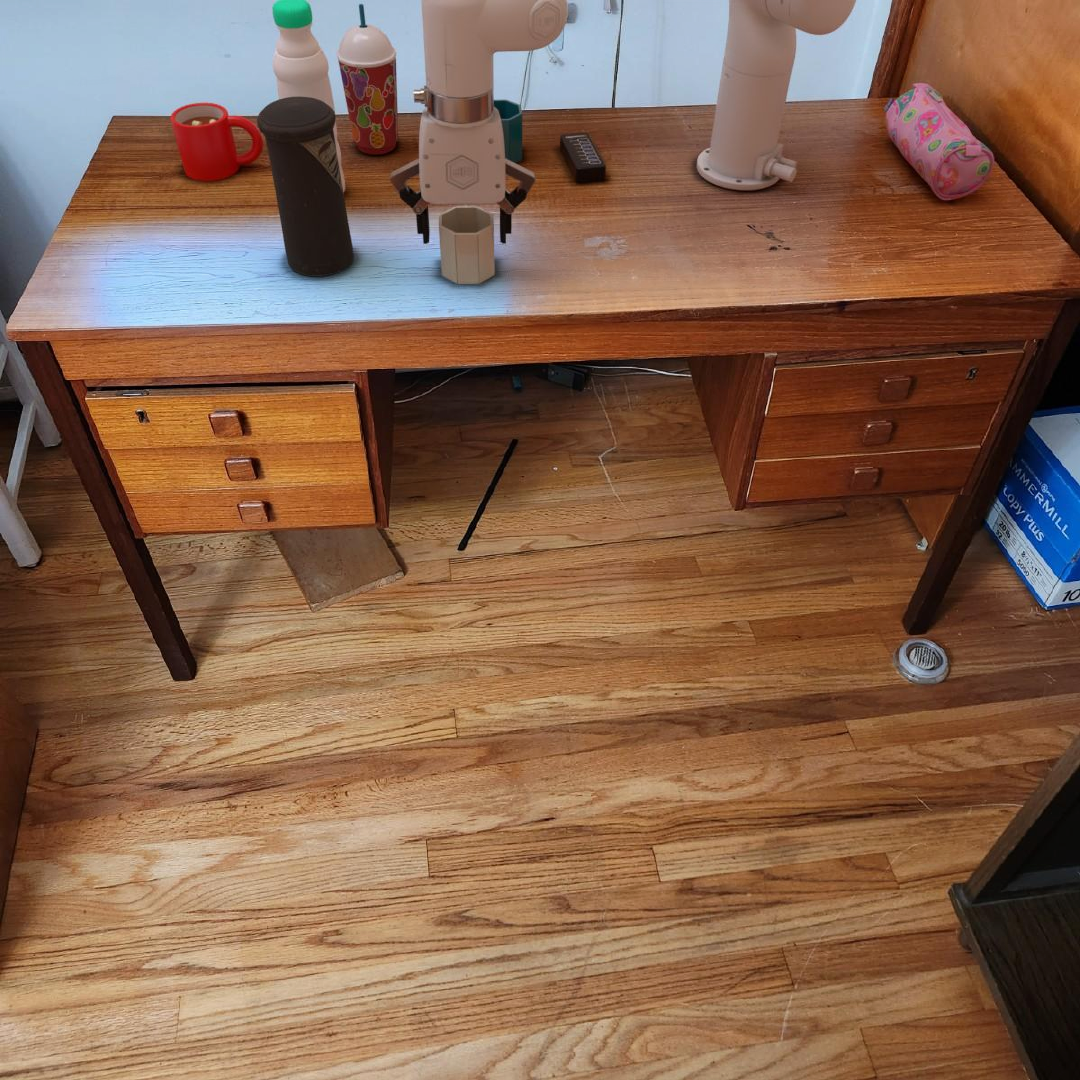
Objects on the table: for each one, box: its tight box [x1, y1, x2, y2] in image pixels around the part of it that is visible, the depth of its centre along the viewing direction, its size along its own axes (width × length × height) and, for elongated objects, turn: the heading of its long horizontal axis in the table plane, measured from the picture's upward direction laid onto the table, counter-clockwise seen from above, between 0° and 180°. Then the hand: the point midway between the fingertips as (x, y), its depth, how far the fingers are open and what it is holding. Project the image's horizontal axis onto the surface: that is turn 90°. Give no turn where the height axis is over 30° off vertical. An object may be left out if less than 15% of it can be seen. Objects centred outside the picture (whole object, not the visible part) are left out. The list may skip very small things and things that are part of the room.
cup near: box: [438, 204, 496, 285], centre depth 123 cm, size 9×7×7 cm
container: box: [256, 97, 355, 277], centre depth 118 cm, size 9×9×20 cm
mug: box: [170, 102, 264, 182], centre depth 138 cm, size 8×12×8 cm, turn 97°
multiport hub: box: [559, 132, 607, 184], centre depth 143 cm, size 4×11×2 cm, turn 12°
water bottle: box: [272, 0, 346, 193], centre depth 127 cm, size 7×7×25 cm
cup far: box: [494, 99, 523, 164], centre depth 142 cm, size 9×7×7 cm
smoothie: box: [336, 3, 399, 156], centre depth 139 cm, size 8×8×20 cm
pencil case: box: [883, 82, 995, 201], centre depth 141 cm, size 21×9×9 cm, turn 5°
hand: (464, 238), depth 121 cm, fingers open, 9 cm apart
